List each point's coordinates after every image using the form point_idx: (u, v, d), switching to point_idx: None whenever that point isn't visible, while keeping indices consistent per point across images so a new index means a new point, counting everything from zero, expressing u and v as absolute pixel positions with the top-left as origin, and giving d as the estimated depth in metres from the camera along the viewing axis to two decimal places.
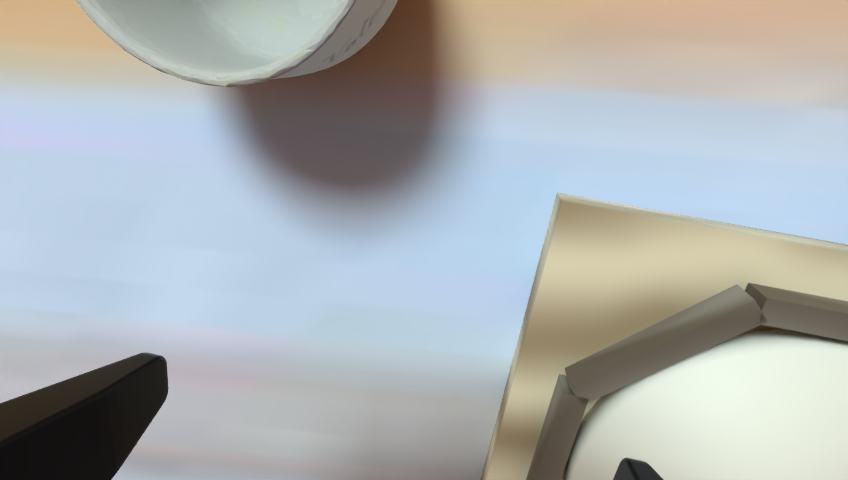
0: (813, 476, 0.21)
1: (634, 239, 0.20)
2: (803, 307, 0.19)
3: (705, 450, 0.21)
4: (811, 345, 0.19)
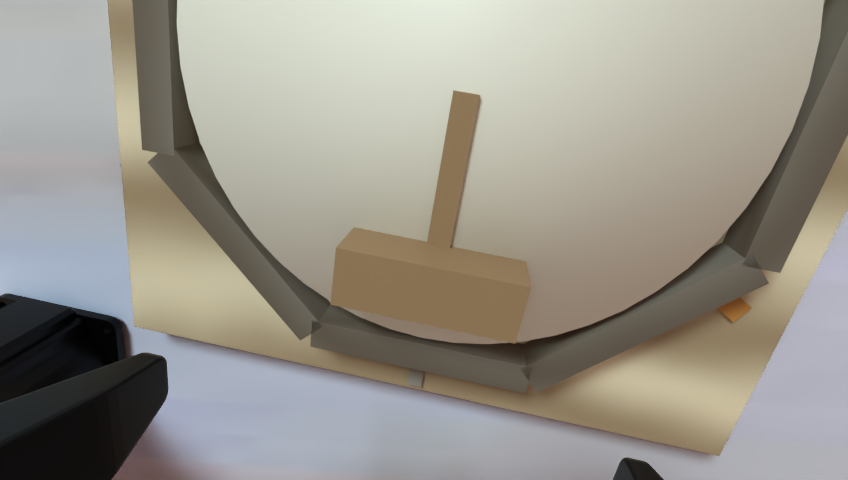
0: None
1: None
2: None
3: None
4: None
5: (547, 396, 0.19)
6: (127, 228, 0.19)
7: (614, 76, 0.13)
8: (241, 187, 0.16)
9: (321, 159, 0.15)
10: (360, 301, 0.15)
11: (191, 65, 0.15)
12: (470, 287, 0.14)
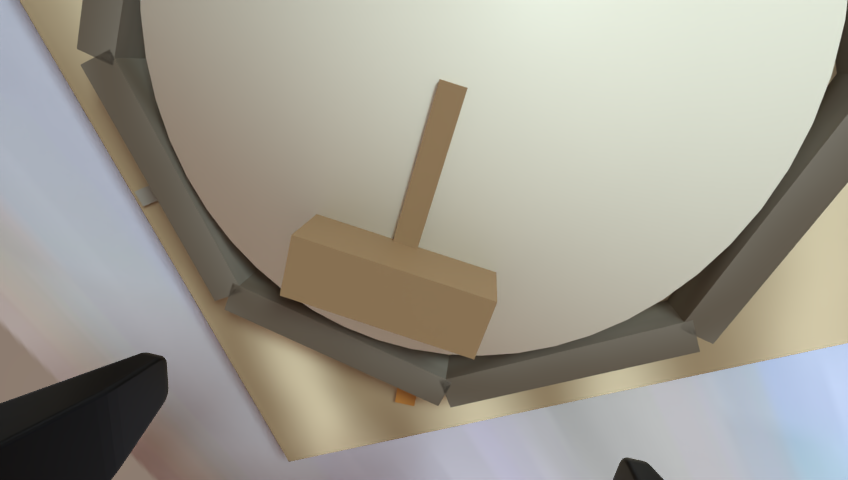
0: None
1: None
2: None
3: None
4: None
5: (230, 317, 0.19)
6: None
7: (613, 87, 0.12)
8: (197, 155, 0.14)
9: (288, 136, 0.14)
10: (312, 295, 0.13)
11: (152, 12, 0.13)
12: (432, 295, 0.13)
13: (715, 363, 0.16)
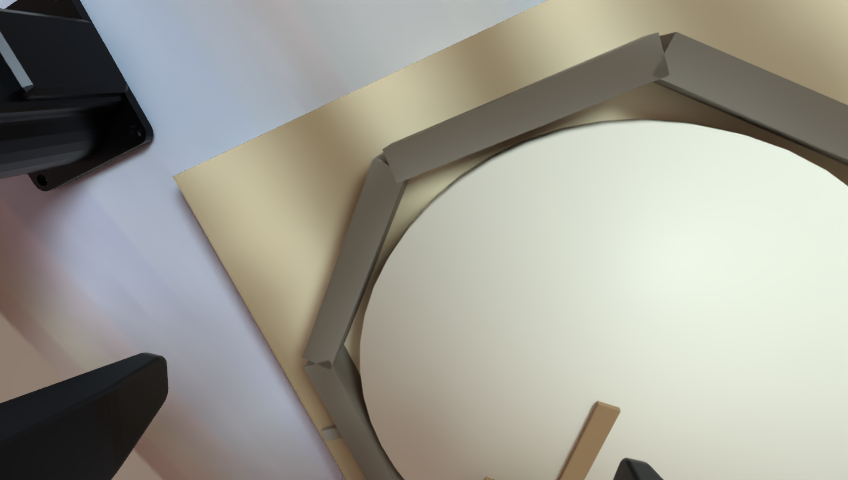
0: (676, 337, 0.15)
1: None
2: None
3: (533, 289, 0.15)
4: (679, 124, 0.13)
5: None
6: (273, 129, 0.17)
7: (737, 415, 0.16)
8: (392, 433, 0.18)
9: (469, 426, 0.18)
10: None
11: (369, 343, 0.17)
12: None
13: None
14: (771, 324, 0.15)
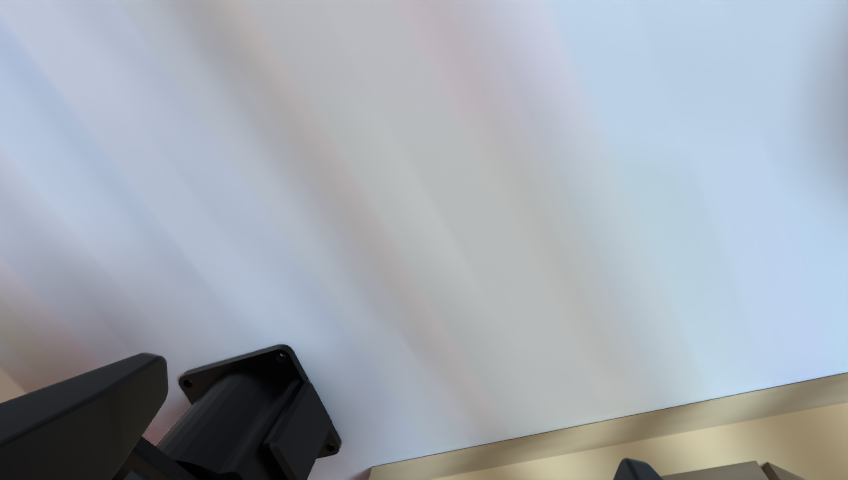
0: None
1: None
2: None
3: None
4: None
5: None
6: (456, 473, 0.22)
7: None
8: None
9: None
10: None
11: None
12: None
13: None
14: None
